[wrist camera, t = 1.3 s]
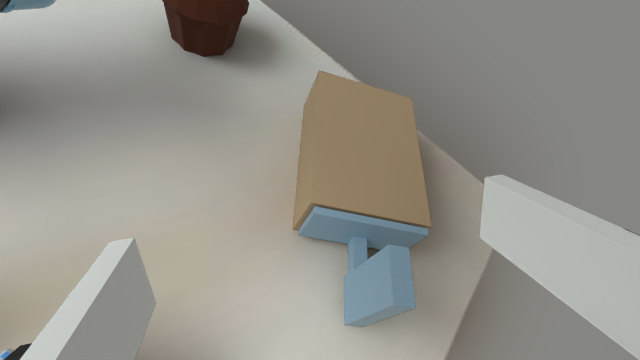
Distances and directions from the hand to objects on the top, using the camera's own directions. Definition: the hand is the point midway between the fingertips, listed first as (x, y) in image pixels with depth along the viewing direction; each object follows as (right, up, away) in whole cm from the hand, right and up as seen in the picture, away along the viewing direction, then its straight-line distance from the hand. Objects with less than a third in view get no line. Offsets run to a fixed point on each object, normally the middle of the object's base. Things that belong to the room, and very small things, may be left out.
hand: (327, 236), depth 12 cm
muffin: (-18, +24, +38) cm, 48 cm away
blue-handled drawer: (+4, -1, +29) cm, 30 cm away
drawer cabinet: (+4, +3, +33) cm, 34 cm away
